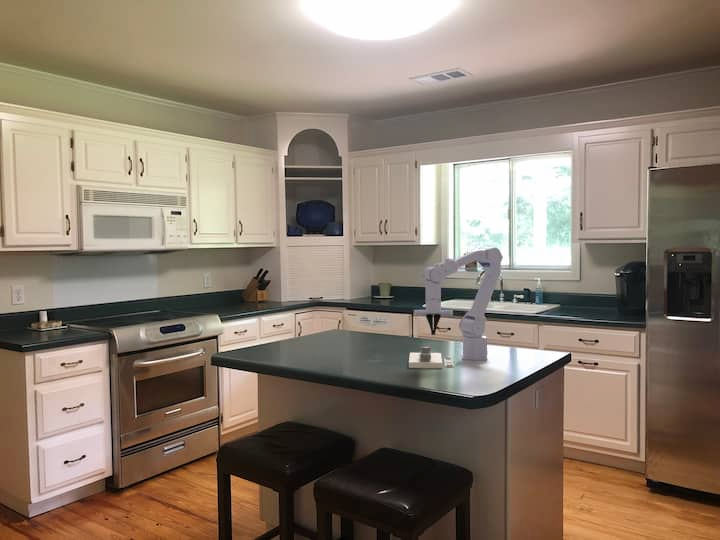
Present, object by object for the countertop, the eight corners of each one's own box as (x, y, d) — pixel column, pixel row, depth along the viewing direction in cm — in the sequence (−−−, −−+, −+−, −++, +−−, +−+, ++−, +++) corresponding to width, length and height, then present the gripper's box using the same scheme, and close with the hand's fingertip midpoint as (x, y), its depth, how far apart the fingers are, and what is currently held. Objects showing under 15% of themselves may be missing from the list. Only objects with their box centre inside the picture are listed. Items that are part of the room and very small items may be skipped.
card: (452, 359, 225) (452, 357, 225) (454, 367, 211) (454, 365, 211) (443, 359, 226) (443, 357, 226) (445, 367, 212) (445, 365, 212)
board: (441, 358, 228) (440, 352, 228) (442, 368, 210) (442, 362, 210) (410, 357, 229) (410, 352, 229) (408, 367, 211) (408, 362, 211)
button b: (430, 357, 221) (430, 346, 221) (430, 359, 217) (430, 348, 217) (420, 357, 222) (420, 346, 221) (420, 359, 218) (420, 348, 217)
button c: (430, 364, 215) (430, 353, 215) (431, 367, 211) (430, 355, 211) (420, 364, 216) (419, 353, 216) (419, 366, 212) (419, 355, 212)
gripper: (452, 297, 223) (452, 332, 224) (414, 297, 225) (414, 332, 225) (453, 299, 216) (453, 336, 217) (413, 299, 218) (413, 335, 218)
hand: (433, 334), depth 221 cm, fingers closed
